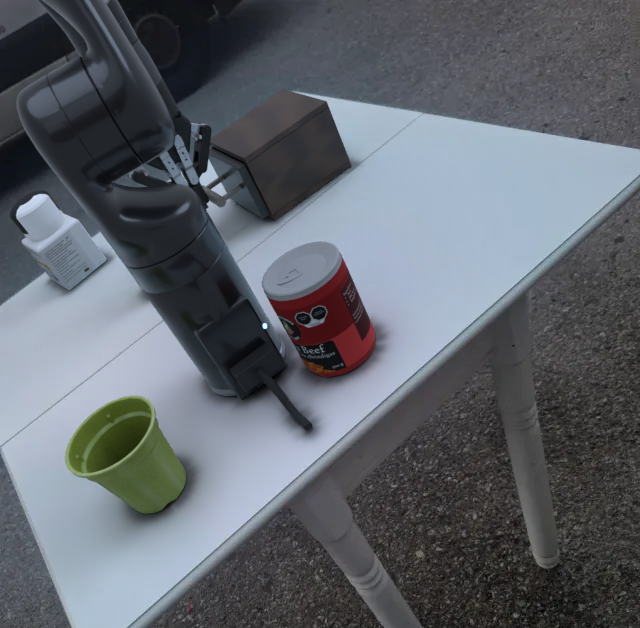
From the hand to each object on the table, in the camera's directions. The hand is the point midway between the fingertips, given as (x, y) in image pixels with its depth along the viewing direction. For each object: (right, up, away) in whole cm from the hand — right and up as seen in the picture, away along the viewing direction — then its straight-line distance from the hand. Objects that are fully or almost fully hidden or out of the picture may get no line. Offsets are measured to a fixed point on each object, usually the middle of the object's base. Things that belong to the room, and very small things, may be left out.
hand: (202, 209), depth 98 cm
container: (-22, -6, +14) cm, 26 cm away
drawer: (+9, +4, +4) cm, 10 cm away
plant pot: (+1, -36, -28) cm, 46 cm away
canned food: (+19, -22, -25) cm, 38 cm away
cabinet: (+12, +5, +5) cm, 14 cm away
